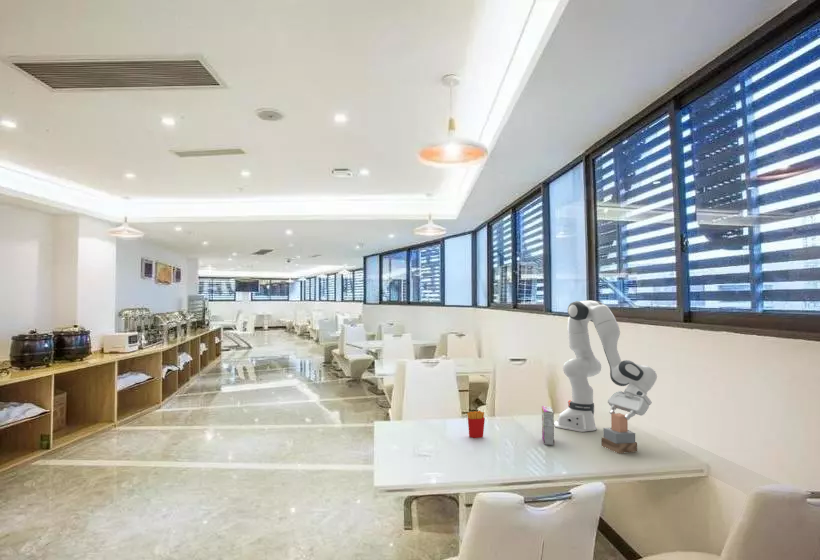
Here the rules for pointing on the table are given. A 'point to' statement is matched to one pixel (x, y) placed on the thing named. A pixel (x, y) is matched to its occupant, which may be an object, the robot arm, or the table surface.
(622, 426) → the terracotta block
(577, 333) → the robot arm
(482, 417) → the french fries
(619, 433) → the charcoal slab
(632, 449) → the walnut slab
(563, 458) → the table surface
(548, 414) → the candy bar box
